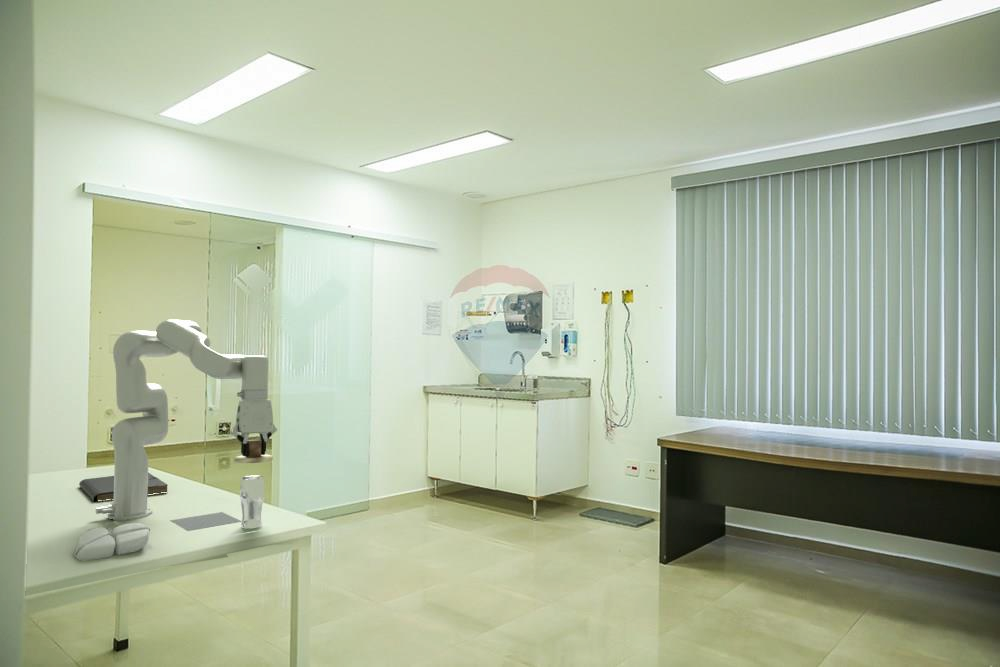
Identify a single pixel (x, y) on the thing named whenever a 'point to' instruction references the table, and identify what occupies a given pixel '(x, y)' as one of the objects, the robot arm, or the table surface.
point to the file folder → (105, 487)
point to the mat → (205, 521)
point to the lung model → (112, 541)
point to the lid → (254, 454)
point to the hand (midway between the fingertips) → (253, 454)
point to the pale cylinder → (251, 501)
